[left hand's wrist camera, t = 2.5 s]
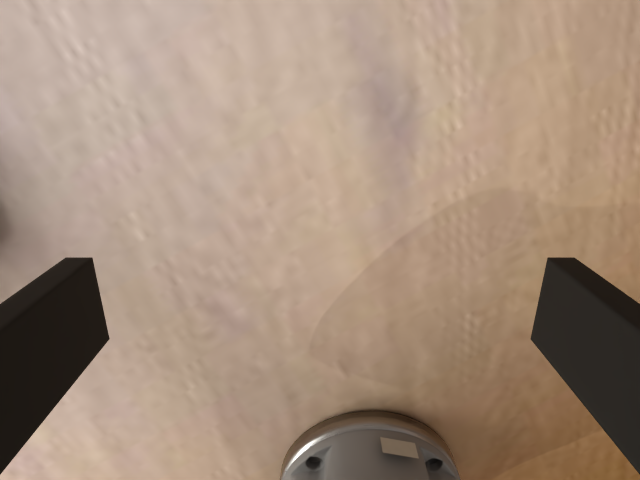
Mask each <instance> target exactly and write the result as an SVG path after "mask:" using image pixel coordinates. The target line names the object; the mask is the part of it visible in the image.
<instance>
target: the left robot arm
mask: <svg viewBox="0 0 640 480" xmlns="http://www.w3.org/2000/svg"><path fill="white" fill-rule="evenodd" d="M108 340H109V335H108V330H107V325H106V321H105V316H104V311H103V306H102V302H101V297H100V292H99V287H98V283H97V278H96V273H95V268H94V264H93V259H92V258H65V259H63V260H62V261H60V262H59V263H57V264H56V265H55V266H53V267H52V268H50V269H49V270H48V271H46V272H45V273H43V274H42V275H41V276H39V277H38V278H36V279H35V280H34V281H32V282H31V283H29V284H28V285H26V286H25V287H24V288H22V289H21V290H19V291H18V292H17V293H15V294H14V295H12V296H11V297H10V298H8V299H7V300H5V301H4V302H2V303H1V304H0V474H1V473H2V472H3V470H4V469H5V468H6V467H7V465H8V464H9V463H10V462H11V461H12V459H13V458H14V457H15V456H16V454H17V453H18V452H19V451H20V449H21V448H22V447H23V446H24V444H25V443H26V442H27V441H28V439H29V438H30V437H31V436H32V434H33V433H34V432H35V431H36V429H37V428H38V427H39V426H40V424H41V423H42V422H43V421H44V420H45V418H46V417H47V416H48V415H49V413H50V412H51V411H52V410H53V408H54V407H55V406H56V405H57V403H58V402H59V401H60V400H61V398H62V397H63V396H64V395H65V393H66V392H67V391H68V390H69V388H70V387H71V386H72V385H73V384H74V382H75V381H76V380H77V379H78V377H79V376H80V375H81V374H82V372H83V371H84V370H85V369H86V367H87V366H88V365H89V364H90V362H91V361H92V360H93V359H94V357H95V356H96V355H97V354H98V352H99V351H100V350H101V349H102V347H103V346H104V345H105V344H106V343H107V341H108ZM531 340H532V341H533V343H534V344H535V345H536V346H537V347H538V349H539V350H540V351H541V352H542V354H543V355H544V356H545V357H546V359H547V360H548V361H549V362H550V364H551V365H552V366H553V367H554V369H555V370H556V371H557V372H558V374H559V375H560V376H561V377H562V379H563V380H564V381H565V382H566V384H567V385H568V386H569V387H570V388H571V390H572V391H573V392H574V393H575V395H576V396H577V397H578V398H579V400H580V401H581V402H582V403H583V405H584V406H585V407H586V408H587V410H588V411H589V412H590V413H591V415H592V416H593V417H594V418H595V420H596V421H597V422H598V423H599V424H600V426H601V427H602V428H603V429H604V431H605V432H606V433H607V434H608V436H609V437H610V438H611V439H612V441H613V442H614V443H615V444H616V446H617V447H618V448H619V449H620V451H621V452H622V453H623V454H624V456H625V457H626V458H627V459H628V461H629V462H630V463H631V464H632V465H633V467H634V468H635V469H636V470H637V472H638V473H639V474H640V304H639V303H638V302H636V301H635V300H633V299H632V298H630V297H629V296H628V295H626V294H625V293H623V292H622V291H621V290H619V289H618V288H616V287H615V286H614V285H612V284H611V283H609V282H608V281H606V280H605V279H604V278H602V277H601V276H599V275H598V274H597V273H595V272H594V271H592V270H591V269H590V268H588V267H587V266H585V265H584V264H582V263H581V262H580V261H578V260H577V259H575V258H548V259H547V264H546V268H545V273H544V278H543V283H542V287H541V292H540V297H539V302H538V306H537V311H536V316H535V321H534V325H533V330H532V335H531ZM280 480H460V477H459V474H458V471H457V468H456V465H455V462H454V459H453V457H452V454H451V452H450V450H449V448H448V446H447V445H446V443H445V442H444V441H443V440H442V438H441V437H440V436H439V435H438V434H437V433H436V432H434V431H433V430H432V429H430V428H429V427H427V426H426V425H424V424H422V423H420V422H419V421H417V420H414V419H412V418H409V417H406V416H403V415H399V414H395V413H389V412H381V411H362V412H353V413H347V414H343V415H339V416H336V417H333V418H330V419H327V420H325V421H323V422H321V423H319V424H317V425H315V426H313V427H312V428H310V429H309V430H307V431H306V432H305V433H304V434H302V435H301V436H300V437H299V438H298V439H297V440H296V441H295V442H294V444H293V445H292V446H291V447H290V449H289V451H288V452H287V454H286V456H285V459H284V461H283V465H282V470H281V478H280Z"/></svg>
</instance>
